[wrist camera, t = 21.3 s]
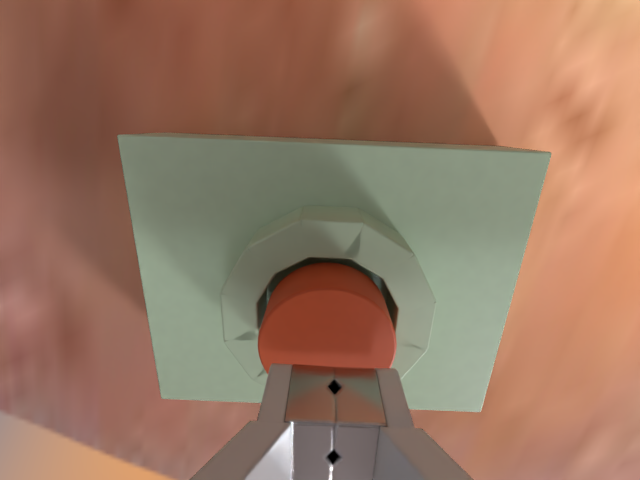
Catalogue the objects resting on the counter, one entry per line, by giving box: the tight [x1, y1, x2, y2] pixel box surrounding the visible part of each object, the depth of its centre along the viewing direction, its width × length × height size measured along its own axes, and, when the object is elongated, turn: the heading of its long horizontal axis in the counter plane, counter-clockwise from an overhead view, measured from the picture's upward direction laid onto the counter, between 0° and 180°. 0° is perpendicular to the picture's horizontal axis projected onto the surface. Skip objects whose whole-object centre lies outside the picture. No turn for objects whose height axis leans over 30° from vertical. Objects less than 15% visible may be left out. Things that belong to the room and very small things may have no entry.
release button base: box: [117, 132, 551, 412], centre depth 13 cm, size 14×11×5 cm
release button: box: [258, 262, 397, 374], centre depth 10 cm, size 4×4×2 cm
